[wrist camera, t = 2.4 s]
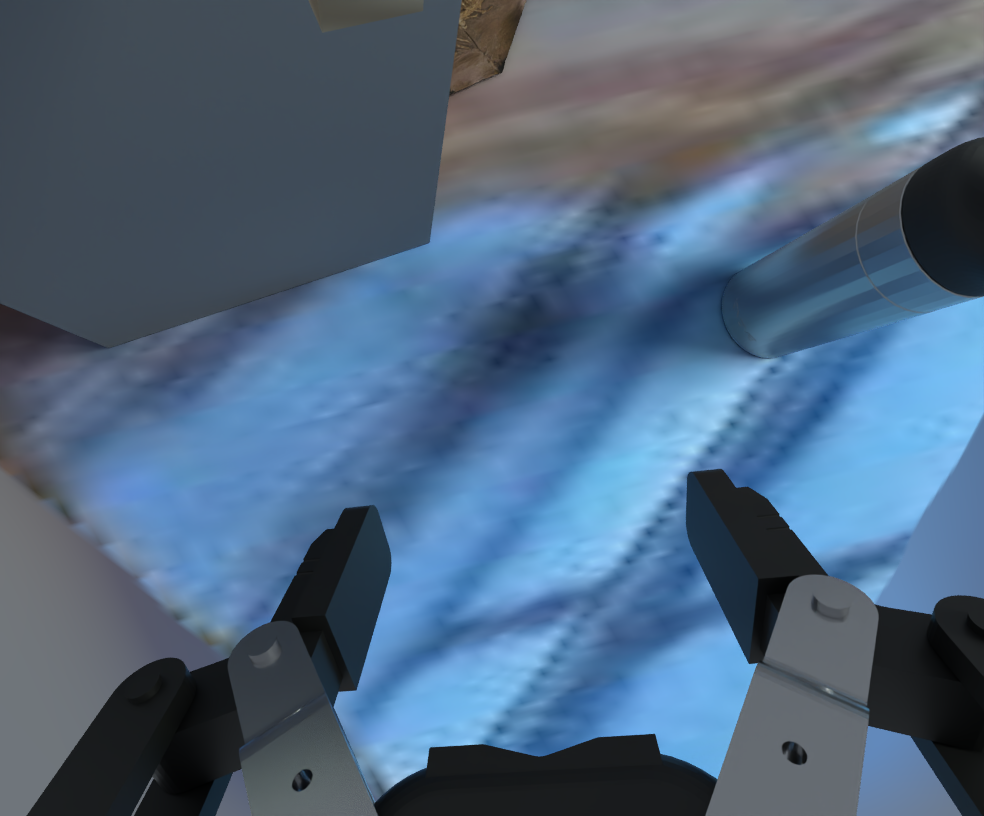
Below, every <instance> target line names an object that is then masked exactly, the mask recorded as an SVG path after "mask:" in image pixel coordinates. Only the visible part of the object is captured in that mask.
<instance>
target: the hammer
mask: <svg viewBox="0 0 984 816" xmlns="http://www.w3.org/2000/svg"><path fill="white" fill-rule="evenodd" d="M308 1H309V3H310V5H311V8H312V10H313V12H314V15H315V17H316V19H317V21H318V24H319V26H320V28H321V31H322V33H324V32H328V31H333V30H338V29H342V28H347V27H351V26H356V25H361V24H365V23H370V22H375V21H379V20H384V19H388V18H393V17H398V16H402V15H407V14H412V13H416V12H421V11H423V2H424V0H308Z"/></svg>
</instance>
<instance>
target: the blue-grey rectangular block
mask: <svg viewBox="0 0 984 816" xmlns="http://www.w3.org/2000/svg"><path fill="white" fill-rule="evenodd" d="M461 2H462V0H424V2H423V11H421V12H416V13H412V14H407V15H402V16H398V17H393V18H388V19H384V20H379V21H375V22H370V23H365V24H361V25H356V26H351V27H347V28H342V29H338V30H333V31H328V32H324V33H322V31H321V28H320V26H319V24H318V21H317V19H316V17H315V15H314V12H313V10H312V8H311V5H310V3H309V1H308V0H0V304H3V305H5V306H8V307H10V308H13V309H15V310H17V311H20V312H22V313H25V314H27V315H29V316H32V317H34V318H37V319H39V320H41V321H44V322H46V323H49V324H51V325H54V326H56V327H58V328H61V329H63V330H66V331H68V332H70V333H73V334H75V335H78V336H80V337H82V338H85V339H87V340H90V341H92V342H95V343H97V344H99V345H102V346H104V347H107V348H111V347H114V346H117V345H120V344H123V343H126V342H129V341H132V340H135V339H138V338H141V337H144V336H147V335H150V334H153V333H156V332H159V331H162V330H165V329H169V328H172V327H175V326H178V325H181V324H184V323H187V322H190V321H193V320H196V319H199V318H202V317H205V316H208V315H211V314H214V313H217V312H220V311H223V310H226V309H229V308H232V307H235V306H239V305H242V304H245V303H248V302H251V301H254V300H257V299H260V298H263V297H266V296H269V295H272V294H275V293H278V292H281V291H284V290H287V289H290V288H293V287H296V286H299V285H302V284H305V283H309V282H312V281H315V280H318V279H321V278H324V277H327V276H330V275H333V274H336V273H339V272H342V271H345V270H348V269H351V268H354V267H357V266H360V265H363V264H366V263H369V262H372V261H375V260H379V259H382V258H385V257H388V256H391V255H394V254H397V253H400V252H403V251H406V250H409V249H412V248H415V247H418V246H421V245H424V244H427V243H429V242H430V235H431V227H432V220H433V212H434V205H435V197H436V190H437V182H438V175H439V167H440V160H441V152H442V145H443V137H444V130H445V122H446V115H447V107H448V100H449V92H450V85H451V77H452V70H453V62H454V54H455V47H456V39H457V32H458V24H459V17H460V9H461Z"/></svg>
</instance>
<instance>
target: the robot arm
mask: <svg viewBox="0 0 984 816" xmlns="http://www.w3.org/2000/svg"><path fill="white" fill-rule="evenodd" d="M983 296H984V137H983V138H977V139H974V140H971V141H968V142H965V143H963V144H960V145H958V146H956V147H954V148H952V149H950V150H949V151H947V152H945V153H943V154H942V155H940V156H938V157H937V158H935V159H933V160H931V161H930V162H928V163H926V164H925V165H923V166H922V167H920V168H918V169H916V170H915V171H913V172H911V173H909V174H908V175H906V176H904V177H903V178H901V179H899V180H897V181H896V182H894V183H892V184H890V185H889V186H887V187H885V188H884V189H882V190H880V191H878V192H877V193H875V194H874V195H872V196H870V197H868V198H867V199H865V200H863V201H861V202H860V203H858V204H856V205H855V206H853V207H851V208H849V209H848V210H846V211H844V212H842V213H841V214H839V215H837V216H835V217H834V218H832V219H830V220H829V221H827V222H825V223H823V224H822V225H820V226H818V227H816V228H815V229H813V230H811V231H809V232H808V233H806V234H804V235H802V236H801V237H799V238H797V239H796V240H794V241H792V242H790V243H789V244H787V245H785V246H783V247H782V248H780V249H778V250H776V251H775V252H773V253H771V254H769V255H767V256H766V257H764V258H762V259H761V260H759V261H757V262H755V263H754V264H752V265H750V266H748V267H747V268H745V269H743V270H742V271H740V272H739V273H737V274H736V275H734V276H733V278H732V279H731V280H730V281H729V282H728V284H727V286H726V288H725V290H724V294H723V298H722V314H723V319H724V322H725V325H726V328H727V330H728V332H729V333H730V335H731V337H732V338H733V339H734V340H735V342H736V343H737V344H738V345H739V346H740V347H742V348H743V349H744V350H745V351H747V352H749V353H751V354H753V355H755V356H758V357H762V358H775V357H780V356H784V355H787V354H790V353H794V352H797V351H801V350H804V349H807V348H811V347H815V346H818V345H822V344H825V343H828V342H832V341H835V340H838V339H842V338H845V337H849V336H852V335H855V334H859V333H862V332H865V331H869V330H872V329H876V328H879V327H882V326H886V325H889V324H892V323H896V322H899V321H903V320H906V319H909V318H913V317H916V316H919V315H923V314H926V313H930V312H933V311H936V310H939V309H942V308H946V307H949V306H952V305H956V304H959V303H963V302H966V301H969V300H973V299H976V298H980V297H983ZM686 528H687V534H688V538H689V541H690V544H691V547H692V549H693V551H694V553H695V555H696V557H697V559H698V561H699V563H700V565H701V567H702V569H703V571H704V573H705V576H706V578H707V580H708V582H709V584H710V586H711V588H712V590H713V592H714V594H715V596H716V598H717V600H718V602H719V604H720V606H721V608H722V610H723V612H724V614H725V616H726V618H727V620H728V622H729V624H730V626H731V628H732V631H733V633H734V635H735V637H736V639H737V641H738V643H739V645H740V647H741V649H742V651H743V653H744V655H745V657H746V659H747V661H748V663H749V664H753V663H758V664H757V666H756V669H755V672H754V674H753V677H752V680H751V683H750V686H749V689H748V692H747V695H746V698H745V701H744V704H743V707H742V710H741V713H740V716H739V718H738V721H737V724H736V727H735V730H734V733H733V736H732V739H731V742H730V745H729V748H728V751H727V754H726V757H725V760H724V763H723V765H722V768H721V771H720V774H719V777H718V780H717V779H716V778H715V777H713V776H711V775H710V774H708V773H707V772H705V771H703V770H702V769H700V768H698V767H696V766H694V765H692V764H690V763H687V762H685V761H682V760H680V759H677V758H674V757H671V756H667V755H663V754H660V751H659V747H658V744H657V740H656V736H655V734H646V735H630V736H613V737H598V738H595V739H592V740H589V741H586V742H583V743H581V744H578V745H575V746H572V747H569V748H566V749H564V750H561V751H558V752H555V753H552V754H549V755H547V756H541V757H538V756H532V755H528V754H523V753H519V752H515V751H510V750H506V749H501V748H497V747H493V746H488V745H484V744H480V745H464V746H447V747H431V748H430V749H429V756H428V763H427V768H425V769H422V770H420V771H418V772H416V773H414V774H412V775H410V776H408V777H406V778H405V779H403V780H402V781H400V782H399V783H397V784H396V785H394V786H393V787H392V788H391V789H389V790H388V791H387V792H386V793H385V794H383V795H382V796H381V797H380V798H379V799H378V800H377V801H376V802H375V800H374V798H373V796H372V794H371V792H370V789H369V787H368V785H367V783H366V780H365V778H364V776H363V773H362V771H361V769H360V767H359V764H358V762H357V760H356V757H355V755H354V753H353V750H352V748H351V746H350V744H349V741H348V739H347V737H346V734H345V732H344V730H343V728H342V725H341V723H340V721H339V718H338V716H337V714H336V712H335V709H334V703H335V700H336V697H337V694H338V692H341V691H354V690H357V687H358V683H359V680H360V676H361V673H362V669H363V666H364V663H365V659H366V656H367V652H368V649H369V645H370V642H371V639H372V635H373V632H374V628H375V625H376V621H377V618H378V615H379V611H380V608H381V604H382V601H383V597H384V594H385V591H386V587H387V584H388V580H389V577H390V573H391V553H390V548H389V545H388V542H387V539H386V535H385V532H384V529H383V526H382V522H381V519H380V516H379V513H378V510H377V508H376V507H375V506H374V505H370V506H361V507H352V508H345V509H344V510H343V512H342V514H341V516H340V518H339V520H338V522H337V524H336V526H335V528H334V529H326V530H325V531H324V532H323V533H322V534H321V535H320V536H319V537H318V538H317V539H316V540H315V541H314V542H313V543H312V544H311V546H310V548H309V550H308V552H307V554H306V555H305V557H304V559H303V560H304V562H303V563H301V565H300V567H299V569H298V571H297V575H296V576H294V578H293V580H292V582H291V584H290V586H289V588H288V590H287V591H286V593H285V595H284V597H283V599H282V601H281V603H280V605H279V607H278V609H277V610H276V612H275V614H274V616H273V618H272V620H271V622H270V623H267V624H264V625H262V626H260V627H258V628H256V629H255V630H253V631H251V632H250V633H249V634H247V635H246V636H245V637H244V638H243V639H242V640H241V641H240V642H239V643H238V644H237V645H236V647H235V648H234V649H233V651H232V653H231V655H230V657H229V658H227V659H225V660H222V661H219V662H216V663H214V664H211V665H208V666H205V667H203V668H200V669H197V670H194V671H192V672H189V670H188V669H187V667H186V666H185V664H184V663H183V661H181V660H180V659H177V658H165V659H160V660H157V661H154V662H152V663H149V664H147V665H146V666H144V667H142V668H140V669H139V670H137V671H136V672H134V673H133V674H132V675H130V676H129V677H128V678H127V679H125V681H123V682H122V683H121V684H120V685H119V686H118V688H117V689H116V690H115V691H114V692H113V694H112V695H111V697H110V698H109V699H108V701H107V702H106V703H105V705H104V706H103V708H102V709H101V711H100V712H99V713H98V715H97V716H96V718H95V719H94V721H93V722H92V723H91V725H90V726H89V728H88V729H87V731H86V732H85V733H84V735H83V736H82V738H81V739H80V741H79V742H78V744H77V745H76V746H75V748H74V749H73V750H72V752H71V753H70V755H69V756H68V758H67V759H66V760H65V762H64V763H63V765H62V766H61V768H60V769H59V770H58V772H57V773H56V775H55V776H54V778H53V779H52V780H51V782H50V783H49V785H48V786H47V787H46V789H45V790H44V792H43V793H42V795H41V796H40V797H39V799H38V801H37V802H36V803H35V805H34V806H33V807H32V809H31V810H30V812H29V813H28V815H27V816H131V815H132V813H133V811H134V809H135V807H136V805H137V804H138V802H139V800H140V798H141V796H142V794H143V792H144V791H145V789H146V786H147V785H148V783H149V781H150V779H151V778H152V777H153V778H154V779H153V781H152V783H151V785H150V787H149V789H148V791H147V792H146V794H145V796H144V798H143V800H142V802H141V804H140V805H139V807H138V809H137V811H136V813H135V815H134V816H215V815H216V813H217V810H218V808H219V805H220V803H221V801H222V798H223V796H224V793H225V791H226V788H227V786H228V783H229V781H230V778H231V776H232V774H233V772H235V771H237V770H240V769H242V772H243V777H244V781H245V786H246V790H247V795H248V799H249V805H250V809H251V814H252V816H856V813H857V806H858V798H859V791H860V783H861V775H862V768H863V760H864V752H865V744H866V736H867V729H868V726H871V727H875V728H880V729H884V730H888V731H892V732H897V733H901V734H905V735H910V736H911V738H912V739H913V741H914V742H915V744H916V745H917V747H918V748H919V750H920V751H921V753H922V755H923V756H924V758H925V759H926V761H927V762H928V764H929V765H930V767H931V768H932V770H933V771H934V773H935V775H936V776H937V778H938V779H939V781H940V782H941V784H942V785H943V787H944V788H945V790H946V791H947V793H948V794H949V796H950V798H951V799H952V801H953V802H954V804H955V805H956V807H957V808H958V810H959V811H960V813H961V815H962V816H984V599H982V598H977V597H972V596H959V595H958V596H950V597H946V598H944V599H941V600H940V601H939V602H938V603H937V604H936V606H935V608H934V611H933V614H932V615H931V614H924V613H919V612H912V611H906V610H900V609H893V608H888V607H883V606H879V605H875V604H874V603H873V602H872V601H871V599H870V598H869V597H868V596H867V595H866V594H865V593H863V592H862V591H861V590H859V589H858V588H856V587H855V586H853V585H851V584H849V583H847V582H845V581H843V580H840V579H837V578H834V577H830V576H828V575H827V573H826V572H825V571H824V570H823V568H822V567H821V566H820V565H819V563H818V562H817V561H816V560H815V558H814V557H813V556H812V555H811V553H810V552H809V551H808V549H807V548H806V547H805V546H804V544H803V543H802V542H801V541H800V539H799V538H798V537H797V536H796V534H795V533H794V532H793V531H792V530H790V529H789V526H788V524H787V523H786V522H785V521H784V519H783V518H782V517H780V516H779V513H778V512H777V510H776V509H775V508H774V507H773V505H772V504H771V503H770V502H769V500H768V499H767V498H765V497H764V496H762V495H760V494H759V493H757V492H756V491H754V490H752V489H751V488H749V487H741V488H736V487H735V486H734V484H733V483H732V481H731V480H730V479H729V477H728V476H727V475H726V473H725V472H724V471H723V470H722V469H714V470H704V471H695V472H689V474H688V477H687V503H686Z"/></svg>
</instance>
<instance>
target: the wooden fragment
mask: <svg viewBox="0 0 984 816" xmlns="http://www.w3.org/2000/svg"><path fill="white" fill-rule="evenodd" d="M525 3H526V0H462V2H461V9H460V17H459V24H458V32H457V39H456V47H455V54H454V62H453V70H452V77H451V85H450V92H449V94H452V93H455V92H457V91H459V90H462V89H464V88H466V87H468V86H470V85H473V84H474V83H476V82H479V81H481V80H482V79H486V78H488V77H491V76H493V75H495V74H499V73H502V71H503V68H504V64H505V60H506V58H507V55H508V52H509V49H510V46H511V43H512V41H513V37H514V35H515V31H516V29H517V26H518V23H519V20H520V17H521V15H522V11H523V8H524V4H525ZM495 68H496V69H497V70H496V69H495ZM497 71H498V72H497Z"/></svg>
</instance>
